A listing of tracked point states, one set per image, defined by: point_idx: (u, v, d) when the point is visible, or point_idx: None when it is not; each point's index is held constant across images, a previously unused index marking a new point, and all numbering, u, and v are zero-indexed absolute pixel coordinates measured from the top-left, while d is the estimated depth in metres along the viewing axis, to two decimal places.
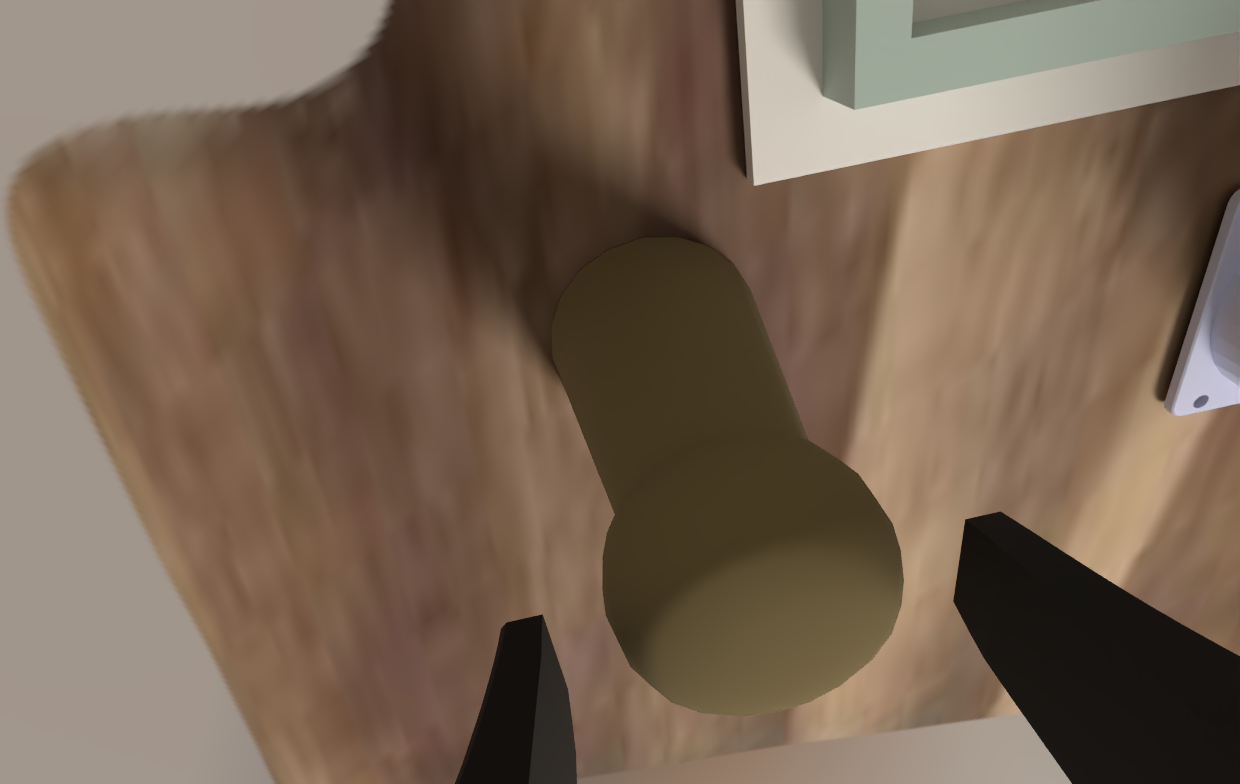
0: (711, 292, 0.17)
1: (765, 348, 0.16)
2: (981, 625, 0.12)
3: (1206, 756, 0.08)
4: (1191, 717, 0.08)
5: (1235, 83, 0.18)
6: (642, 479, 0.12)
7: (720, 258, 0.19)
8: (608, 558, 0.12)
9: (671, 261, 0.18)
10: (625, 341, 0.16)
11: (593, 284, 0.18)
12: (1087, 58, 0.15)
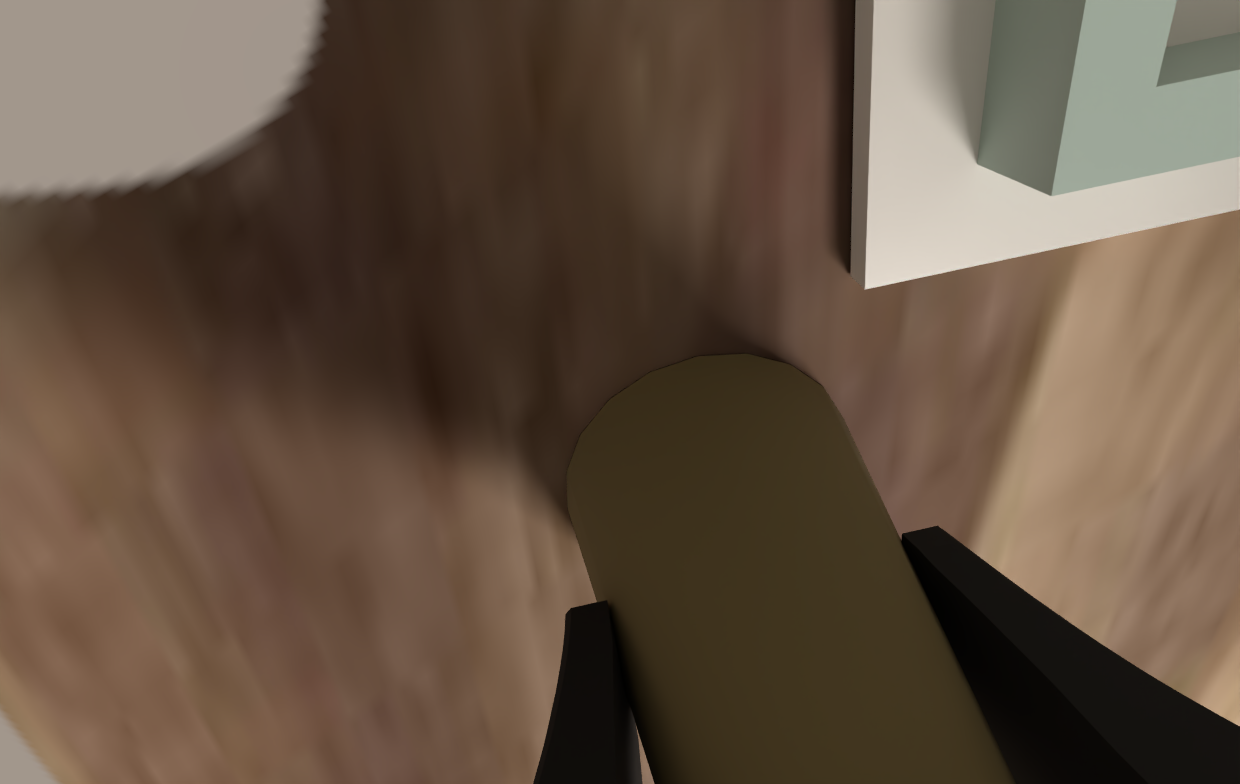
0: (811, 457, 0.11)
1: (901, 556, 0.10)
2: None
3: (1112, 778, 0.07)
4: (1099, 740, 0.08)
5: None
6: None
7: (807, 383, 0.13)
8: None
9: (745, 400, 0.12)
10: (687, 551, 0.10)
11: (630, 429, 0.12)
12: None
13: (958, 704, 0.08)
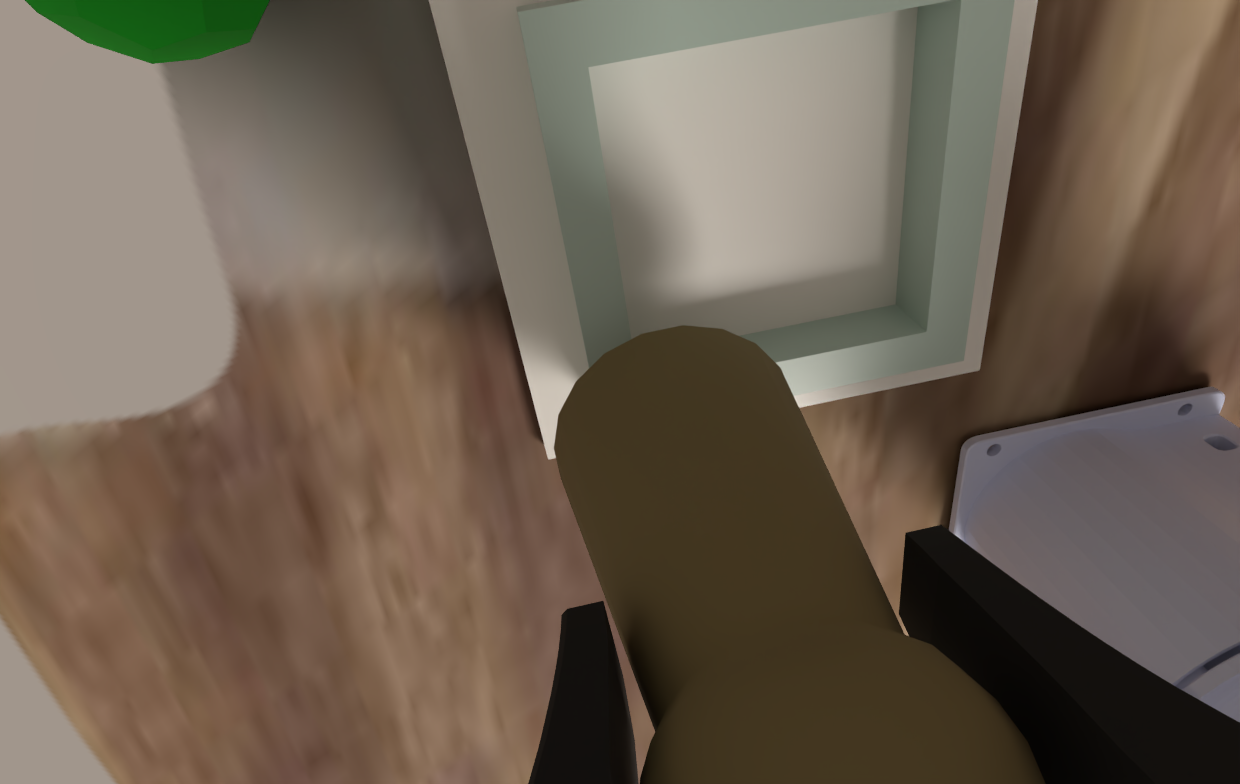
0: (770, 405, 0.14)
1: (834, 485, 0.13)
2: (922, 639, 0.11)
3: (1117, 777, 0.07)
4: (1104, 738, 0.08)
5: (942, 376, 0.22)
6: (715, 683, 0.09)
7: (768, 359, 0.16)
8: None
9: (720, 360, 0.15)
10: (669, 460, 0.12)
11: (622, 375, 0.15)
12: None
13: (869, 576, 0.11)
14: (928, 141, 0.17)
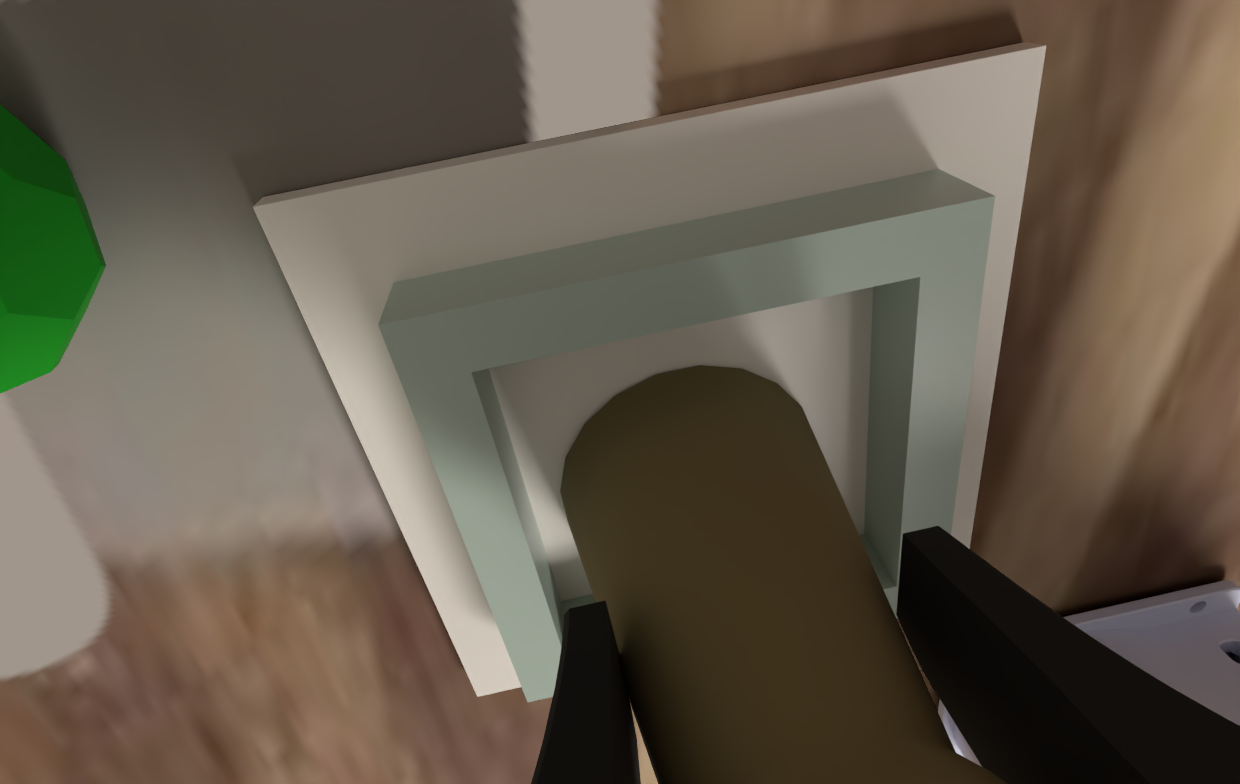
0: (795, 461, 0.13)
1: (866, 552, 0.12)
2: (920, 640, 0.11)
3: (1113, 778, 0.07)
4: (1099, 739, 0.08)
5: None
6: None
7: (790, 400, 0.15)
8: None
9: (741, 407, 0.14)
10: (690, 529, 0.12)
11: (636, 422, 0.14)
12: None
13: (911, 670, 0.10)
14: (890, 398, 0.15)
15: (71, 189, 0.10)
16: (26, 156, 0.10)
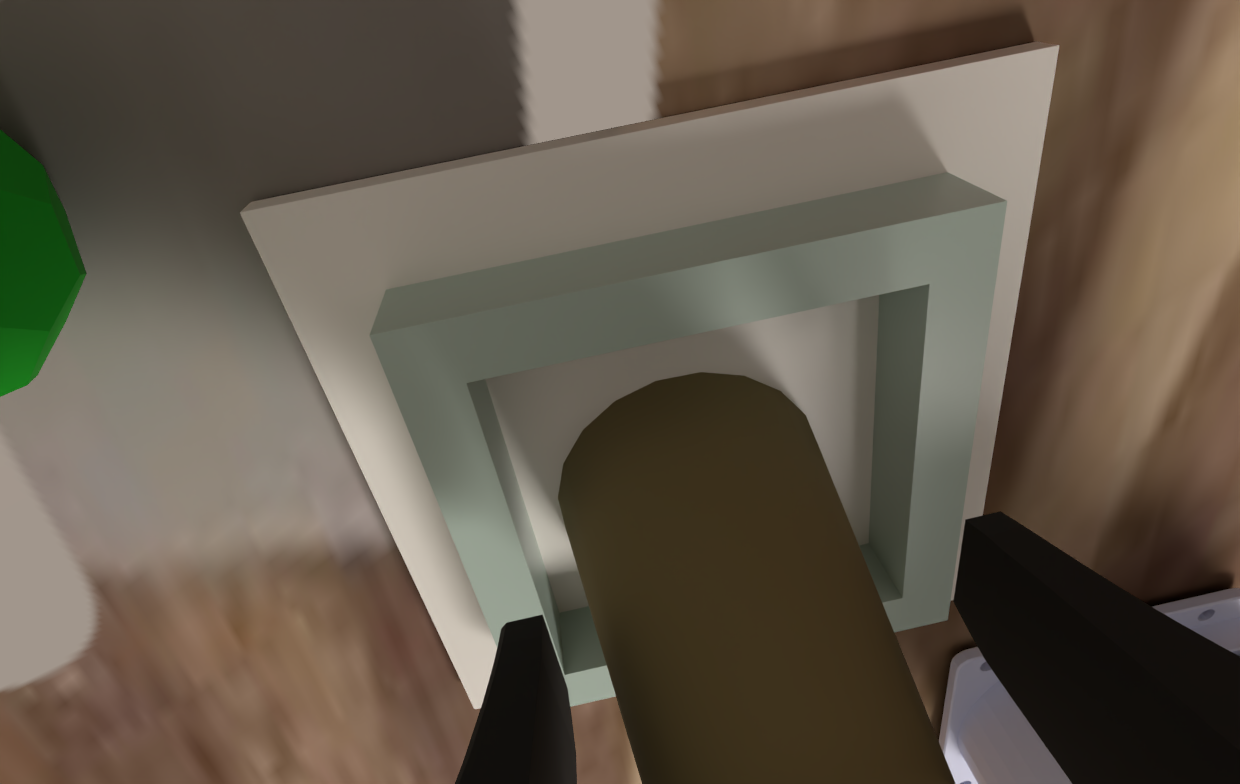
0: (796, 473, 0.12)
1: (867, 569, 0.12)
2: (981, 625, 0.12)
3: (1206, 756, 0.08)
4: (1192, 718, 0.08)
5: None
6: None
7: (793, 409, 0.15)
8: None
9: (741, 416, 0.13)
10: (685, 543, 0.11)
11: (634, 430, 0.14)
12: None
13: (910, 695, 0.10)
14: (897, 407, 0.14)
15: (47, 195, 0.10)
16: None
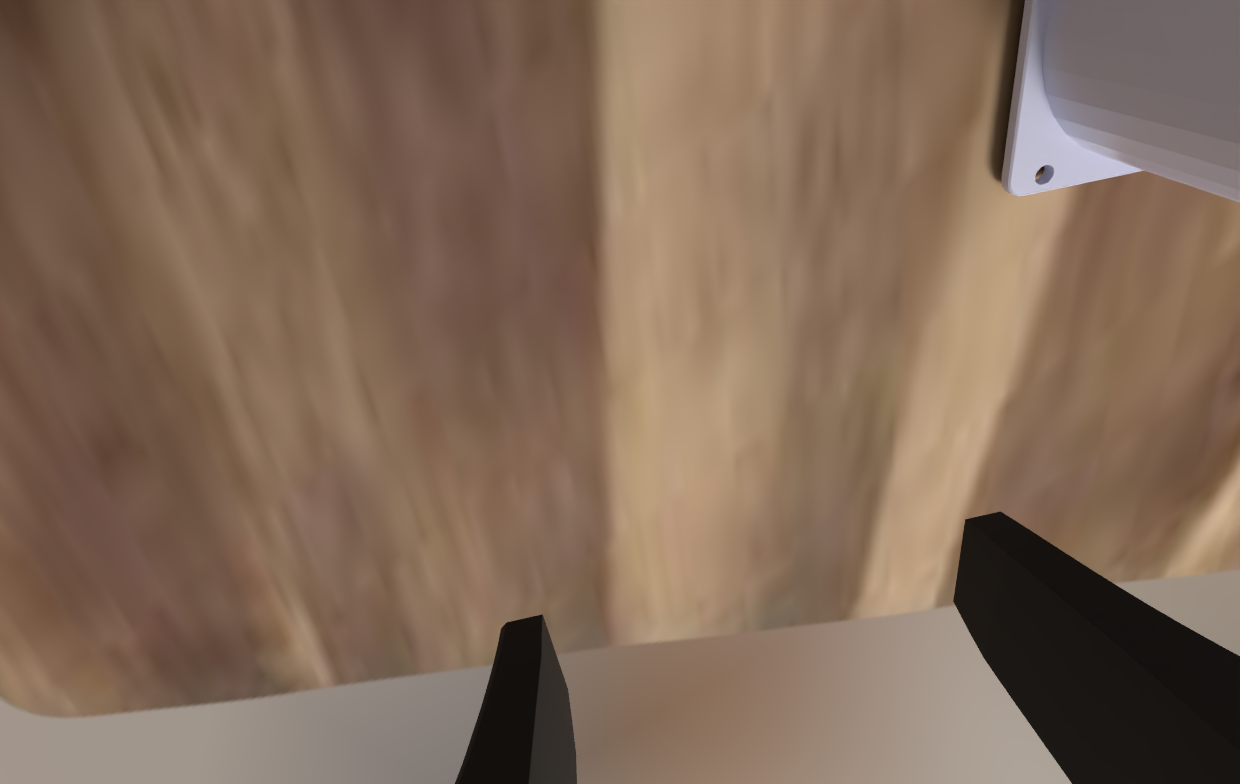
0: None
1: None
2: (981, 625, 0.12)
3: (1206, 756, 0.08)
4: (1192, 718, 0.08)
5: None
6: None
7: None
8: None
9: None
10: None
11: None
12: None
13: None
14: None
15: None
16: None
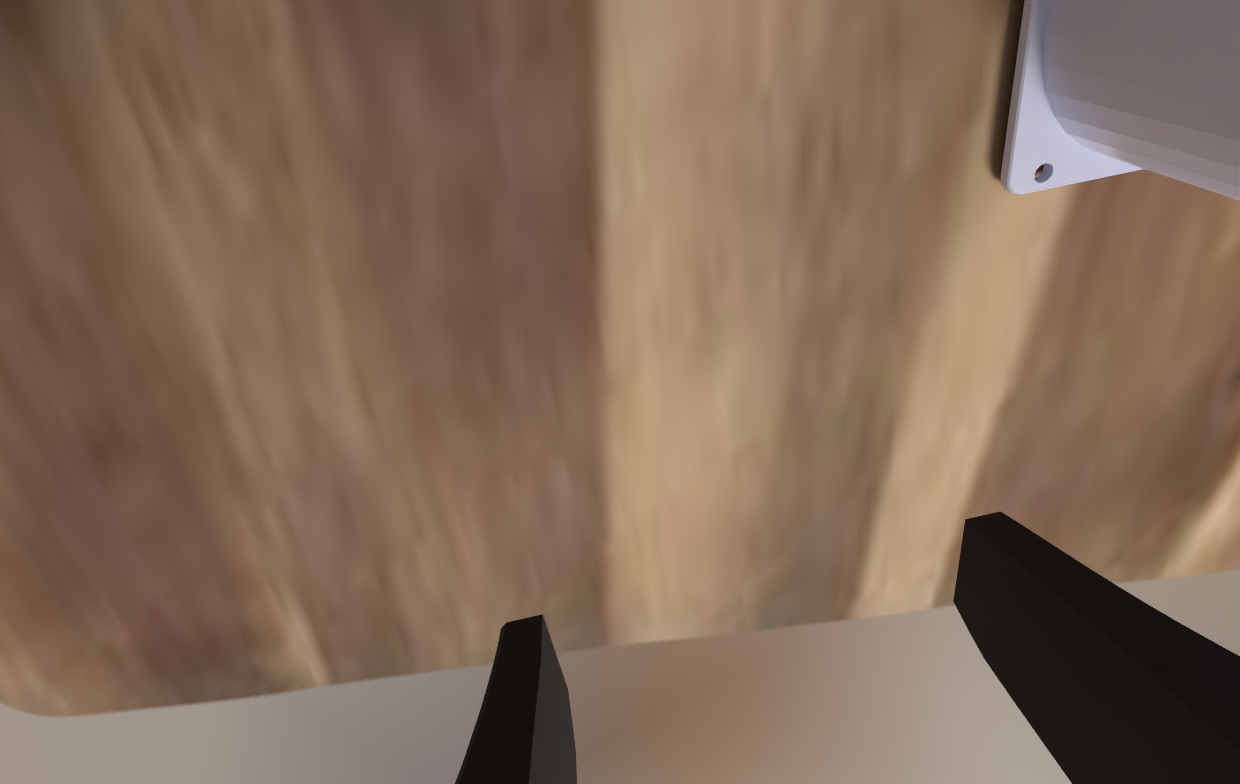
0: None
1: None
2: (981, 626, 0.12)
3: (1206, 756, 0.08)
4: (1192, 718, 0.08)
5: None
6: None
7: None
8: None
9: None
10: None
11: None
12: None
13: None
14: None
15: None
16: None
